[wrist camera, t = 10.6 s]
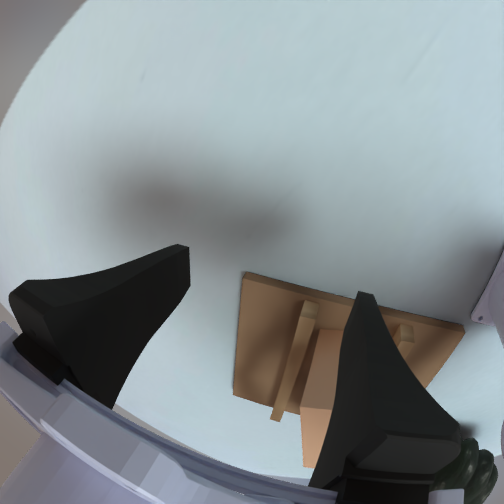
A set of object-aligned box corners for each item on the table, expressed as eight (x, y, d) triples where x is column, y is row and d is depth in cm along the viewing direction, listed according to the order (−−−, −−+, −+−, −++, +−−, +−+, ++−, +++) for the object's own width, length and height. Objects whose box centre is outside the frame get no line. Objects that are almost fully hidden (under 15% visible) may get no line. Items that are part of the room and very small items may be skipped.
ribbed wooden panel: (463, 325, 20) (469, 349, 18) (386, 425, 30) (384, 445, 27) (246, 271, 25) (233, 292, 23) (235, 388, 34) (226, 407, 32)
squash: (393, 463, 34) (379, 543, 22) (414, 420, 28) (404, 530, 16) (469, 456, 29) (466, 532, 17) (507, 409, 23) (516, 507, 10)
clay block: (349, 330, 23) (336, 410, 17) (341, 407, 29) (328, 469, 22) (319, 329, 24) (299, 406, 18) (319, 405, 30) (303, 466, 23)
